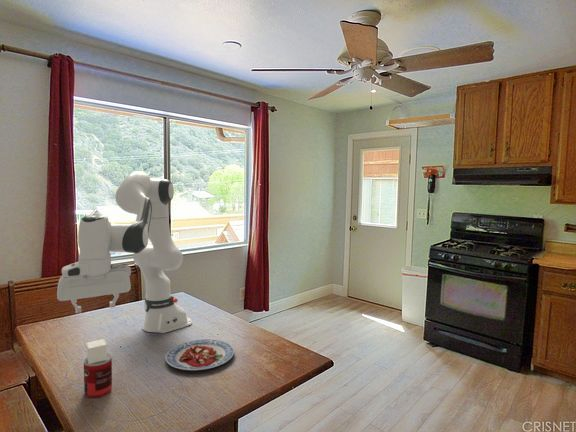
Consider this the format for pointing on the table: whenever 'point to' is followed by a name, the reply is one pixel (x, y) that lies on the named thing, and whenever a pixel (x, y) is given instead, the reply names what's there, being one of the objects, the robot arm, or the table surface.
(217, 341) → the ceramic plate
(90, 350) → the cream block
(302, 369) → the table surface
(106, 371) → the canned food
